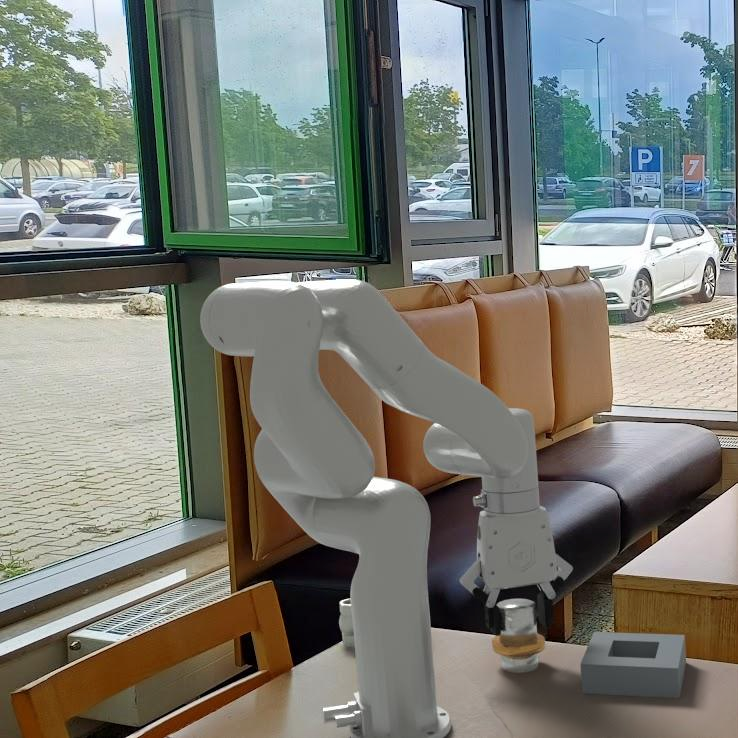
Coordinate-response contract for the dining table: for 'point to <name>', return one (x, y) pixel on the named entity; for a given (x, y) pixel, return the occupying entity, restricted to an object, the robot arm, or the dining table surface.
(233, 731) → the dining table surface
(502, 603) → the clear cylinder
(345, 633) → the valve
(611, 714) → the dining table surface
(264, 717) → the dining table surface
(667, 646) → the housing
